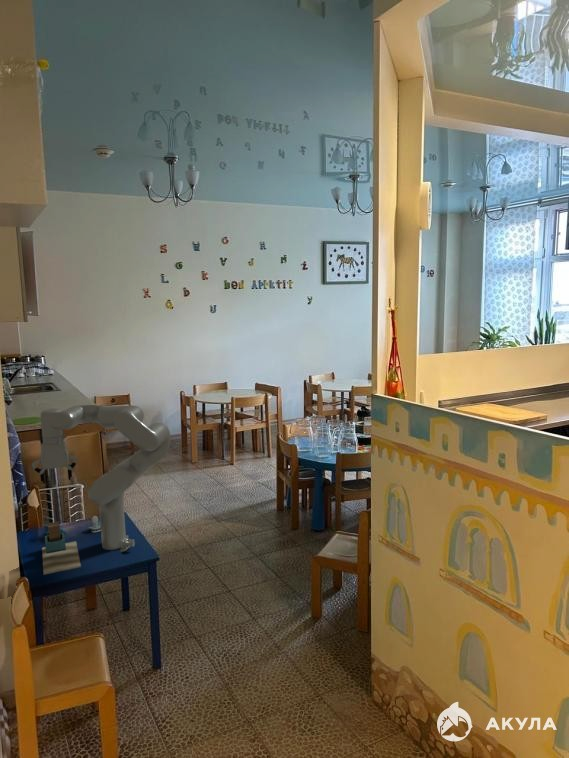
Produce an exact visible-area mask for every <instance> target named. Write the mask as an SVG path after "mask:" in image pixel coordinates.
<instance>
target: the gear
mask: <svg viewBox="0 0 569 758" xmlns="http://www.w3.org/2000/svg"><path fill="white" fill-rule="evenodd" d="M48 523H50V522H49V521H48V520H45V524H47V525H48ZM60 533H64V536H66V535H67V532H66V531H65V530H63V529H62V528H60ZM47 535H49V530H47V532H46V536H47Z"/></svg>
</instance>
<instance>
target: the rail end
mask: <svg viewBox="0 0 569 758" xmlns="http://www.w3.org/2000/svg"><path fill="white" fill-rule="evenodd" d="M60 526H61V525H60V521H55V522H53V521H52V522H49V523H48V524H47V527H48V529H47V531H49V534H48V535H49V541H55V540H61V537H60V533H61V532H60V529H61V527H60Z"/></svg>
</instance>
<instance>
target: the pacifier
mask: <svg viewBox="0 0 569 758" xmlns="http://www.w3.org/2000/svg"><path fill="white" fill-rule="evenodd" d="M91 522H92V526H87V529H89V530H91V533H93V534H95V533H99V532H100V533H101V526H100V521H99V518H98V516H97V515H94V516H92V517H91ZM96 530H97V531H96Z"/></svg>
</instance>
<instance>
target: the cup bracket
mask: <svg viewBox="0 0 569 758" xmlns="http://www.w3.org/2000/svg"><path fill="white" fill-rule="evenodd" d="M65 536H66V535H65V534H64V533H62V532H60V537H61V540H55V541H49V534H48V535H47V534H46V535H45V536H44V542H45V543H44V545H45V547H46V554H48V553H53V552H58V551H64V550H66V545H65V543H66V537H65Z"/></svg>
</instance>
